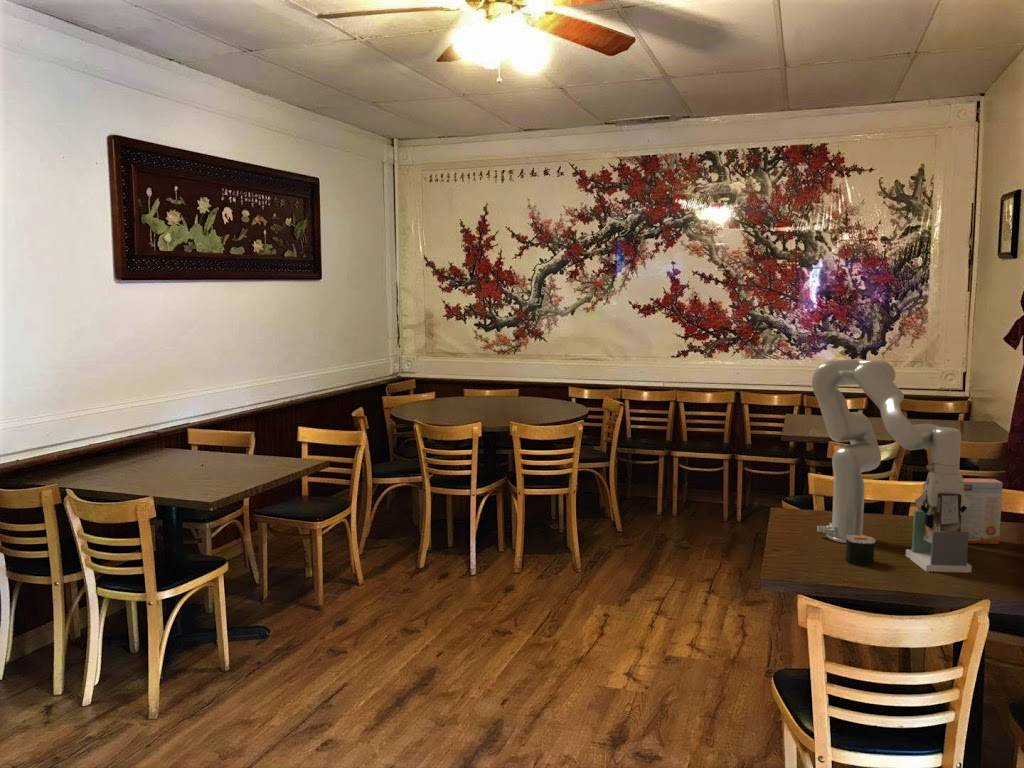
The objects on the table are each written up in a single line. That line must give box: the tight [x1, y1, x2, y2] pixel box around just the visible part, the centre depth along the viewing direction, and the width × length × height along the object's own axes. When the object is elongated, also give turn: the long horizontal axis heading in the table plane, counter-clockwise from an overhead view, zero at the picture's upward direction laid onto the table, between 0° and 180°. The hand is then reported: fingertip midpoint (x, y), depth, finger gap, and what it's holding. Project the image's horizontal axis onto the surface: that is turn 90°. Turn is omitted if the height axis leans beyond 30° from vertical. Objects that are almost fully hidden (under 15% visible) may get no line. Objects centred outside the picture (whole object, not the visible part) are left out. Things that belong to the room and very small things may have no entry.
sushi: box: [845, 534, 876, 567], centre depth 258 cm, size 8×8×8 cm
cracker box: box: [960, 477, 1003, 545], centre depth 278 cm, size 14×6×21 cm, turn 84°
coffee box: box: [924, 494, 962, 544], centre depth 254 cm, size 9×6×16 cm
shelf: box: [905, 509, 973, 574], centre depth 256 cm, size 13×15×15 cm
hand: (941, 526), depth 254 cm, fingers closed on coffee box, 6 cm apart
